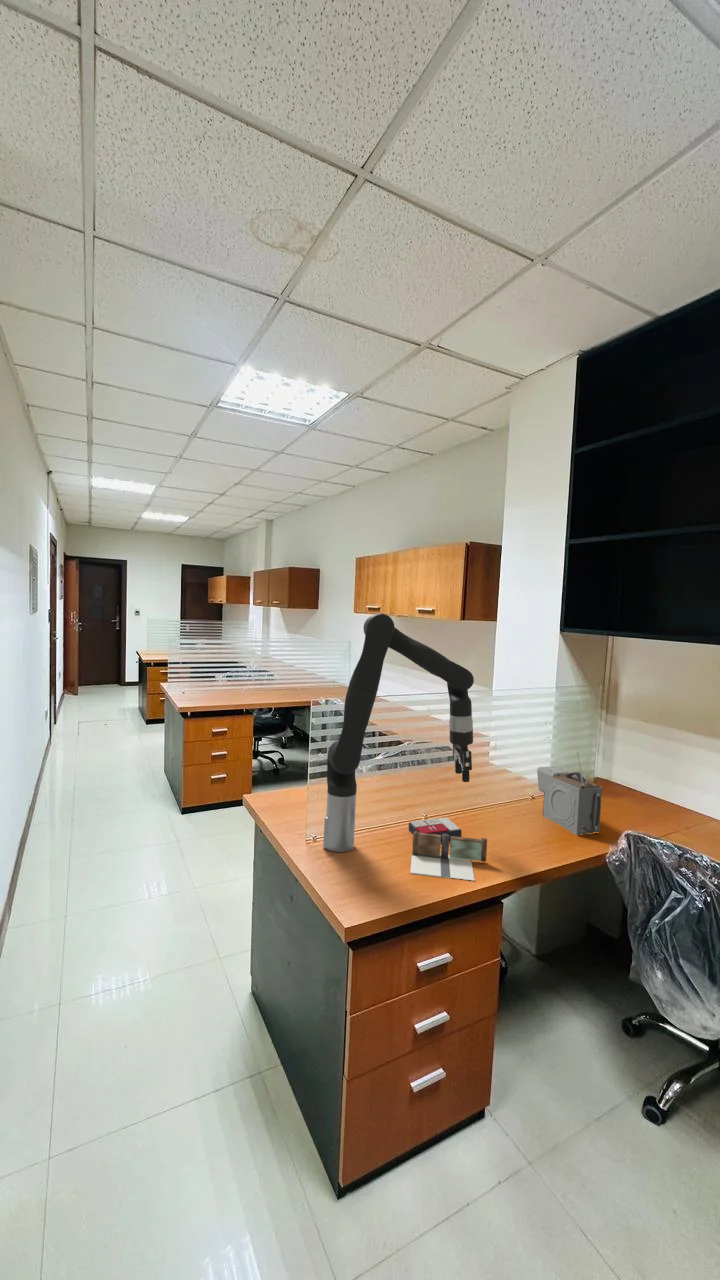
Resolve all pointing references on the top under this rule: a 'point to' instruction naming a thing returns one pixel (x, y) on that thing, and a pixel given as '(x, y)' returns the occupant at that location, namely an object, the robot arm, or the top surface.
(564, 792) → the portable television
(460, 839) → the panel
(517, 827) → the top surface
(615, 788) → the top surface
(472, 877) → the card
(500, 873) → the top surface
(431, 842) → the fence fixed section
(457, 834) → the calculator
